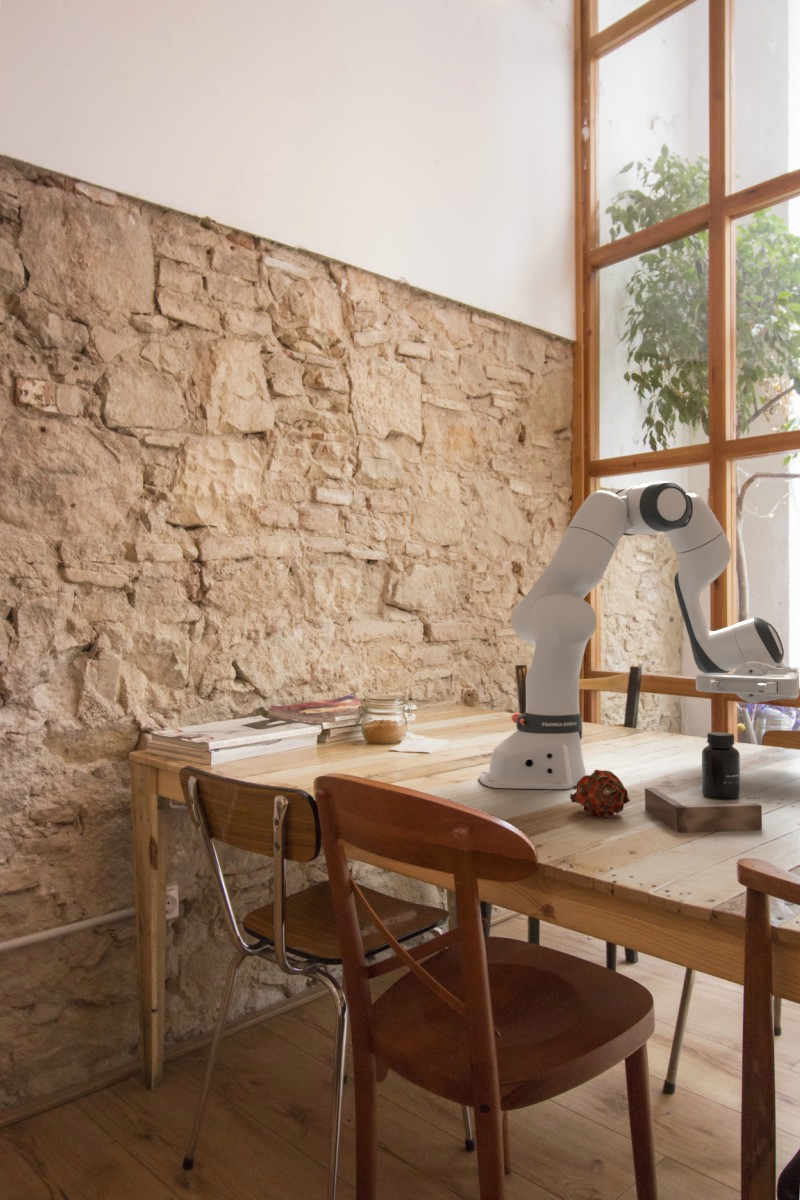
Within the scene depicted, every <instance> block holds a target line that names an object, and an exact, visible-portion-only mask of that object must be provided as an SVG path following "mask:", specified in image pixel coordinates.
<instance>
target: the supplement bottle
mask: <svg viewBox="0 0 800 1200" xmlns="http://www.w3.org/2000/svg"><path fill="white" fill-rule="evenodd" d="M706 737H707V739H706V743H707V744H708V745H707V746H705V747H704V748H703V749H702V751H701V794H702V795H703V797H705V798H709V799H714V800H723V801H725V800H727V801H729V800H730V801H732V800H737V799H738V798H739V797H740V794H741V789H740V788H741V780H740V779H741V767H740V766H741V764H740V763H741V757H740V752H739V751H738V749H737V748H736V747H734V745H735V734H734V733H731V732H725V731H724V732H723V731H712V732H711V731H710V732H707V734H706Z"/></svg>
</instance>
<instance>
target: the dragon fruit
mask: <svg viewBox="0 0 800 1200" xmlns="http://www.w3.org/2000/svg"><path fill="white" fill-rule="evenodd" d="M572 790H573V791H575V790H576V792H574V793H572V792H571V793H570V794H569V799H570V802H571V803H575V804H580V805H581V806H582V807H583V811H584V812H585V813H586V815H588V816H595V815H598V816H600V817H603V818H608V819H609V818H612V817H613V815H614V814H615V813H616V814H618V813H621V812H622V811H623V810H624V805H626V804H627V803H629V802H630V801H631V800H630V798H629V792H628V790H627V788H625V785H624V783H623V782H622V781H621V779H620V778H619V777H618V776H617V775H616V774H614V772H612V771H610V770H600V769H595V770H594V771H593V772H592V773H591V774H590V775H589V774H586V776H583V777H582V778H581V779H580V780H579V781H578V783H577V785H576V786H574V788H572Z"/></svg>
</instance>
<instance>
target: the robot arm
mask: <svg viewBox="0 0 800 1200" xmlns="http://www.w3.org/2000/svg"><path fill="white" fill-rule="evenodd" d="M658 533H663V534H664V535H665V536H666V537H667V538H668V539H669V542H670V544H671V546H672V549H673V550H674V552H675V554H676V556H677V559H678V560H677V561H678V572H676V574H675V575H674V581H673V583H674V590H675V594H676V598H677V601H678V605H679V608H680V612H681V615H682V618H683V622H684V625H685V628H686V632H687V635H688V639H689V643H690V647H691V648H690V649H691V652H692V657H693V661H694V663H695V665H696V667H697V669H698V670H699V671H700V672H702V673H698V674H696V676H695V690H696V691H697V692H702V693H703V692H704V693H717V694H720V693H721V694H736V695H737V697H739V698H740V699H741V700H743V701H745V702H747V703H750V704H758V703H762V702H769V701H773V700H776V701H778V700H779V701H781V700H787V701H788V700H796V699H798V697H799V696H800V675H799V672H798V669H797V668H793V667H788V666H786V665H785V663H783V659H784V655H785V652H784V651H785V650H784V647H783V643H782V640H781V638H780V635H779V634H778V632H777V630H776V629H775V627H774V626H773V625H772V624H771V623H769V622H768V621H766V620H765V619H763V618H760V617H757V616H755V617H752V618H749V619H746V620H743V621H739V622H737V623H735V624H732V625H729V626H727V627H723V628H720V629H716V630H710V629H709V628H708V626H707V622H706V619H705V616H704V612H703V609H702V605H701V601H700V595H701V594H702V592H703V591H705V589H706V588H707V587H708V586H709V585H711V584H712V583H713V582H714V581H715V580H716V579H718V578H719V577H720V576H721V575H722V573H723V572H725V570H726V568H727V567H728V565H729V562H730V560H731V557H732V548H731V545H730V542H729V540H728V537H727V535H726V533H725V531H724V529H723V527H722V525H721V523H720V522H719V520H718V518H717V516H716V515H715V514H714V512H713V511H712V509H711V508H710V506H709V505H708V504H707V503H706V501H705V500H704V499H703V497H702V496H701V495H699V494H698V493H691V492H686V491H685V489H684V488H682V486H680V485H678V484H677V483H675V482H671V481H667V480H666V481H665V480H658V481H653V482H647V483H640V484H636V485H632V486H629V487H628V488H622V489H620V490H618V491H617V492H615V493H614V492H611V491H608V490H596V491H593V492H592V493H590V494H589V495H588V496H587V498H585V500H584V501H583V503H581V505H580V507H579V508H578V510H577V511H576V512H575V514H574V516H573V518H572V519H571V521H570V523H569V525H568V527H567V529H566V530H565V533H564V534H563V537H562V539H561V540H560V543H559V545H558V547H557V549H556V550H555V553H554V554H553V557H552V559H551V560H550V562H549V563H548V565H547V566H546V568H545V569H544V571H543V572H541V575H540V576H539V577H538V579H536V581H535V582H534V584H533V585H532V587H531V588H530V590H529V591H528V592H527V594H526V595H525V596H524V597H523V598H522V599H521V600H520V601H519V602H518V603H517V604H516V605H515V606H514V608H513V610H512V612H511V615H510V617H511V618H510V621H511V627H512V629H513V632H514V633H515V634H516V635H517V636H518V637H519V638H520V639H522V640H523V641H525V642H526V643H529V644H531V645H534V647H535V648H534V652H533V657H532V661H531V665H530V667H529V669H528V671H527V672H526V674H525V675H526V676H525V712H523V713H521V714H519V713H518V712H514V713H512V714H511V717H510V719H511V721H512V722H513V723H515V724H516V729H517V730H516V731H514V732H513V733H512V734H511V735H509V736H508V737H507V738H506V739H504V741H503V740H502V742H500V744H498V745H497V746H495V748H494V749H493V751H492V752H491V757H490V762H489V770H483V771H481V772H480V773H479V777H478V778H479V781H480V782H481V784H482V785H485V786H487V787H488V788H489V787H490V788H494V789H530V790H531V789H533V790H537V789H538V790H541V789H542V790H570V789H572V788H573V787H576V786H577V783H578V781H579V780H580V779H581V778H582V777H583V776H586V775H587V771H586V767H585V762H584V758H583V750H582V742H581V740H582V737H583V719H582V713H581V712H580V675H581V668H582V664H583V659H584V655H585V651H586V649H587V648H586V647H587V644H588V642H589V640H590V639H591V638H592V637H593V635H594V633H595V631H596V628H597V615H596V612H595V609H594V608H593V606H592V605H591V604H590V603H589V602H588V601H587V600H585V598H586V597H587V595H589V594H590V592H591V591H592V590H593V589H595V588H596V587H597V586H598V585H599V584H600V582H601V581H602V578H603V576H604V574H605V572H606V570H607V567H608V566H609V564H610V562H611V560H612V558H613V555H614V553H615V552H616V550H617V547H618V545H619V543H620V540H621V538H623V536H630V537H633V536H636V535H637V536H640V535H641V536H642V535H643V536H649V535H654V534H658ZM731 671H734V672H733V673H730V672H731Z"/></svg>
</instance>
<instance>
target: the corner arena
mask: <svg viewBox="0 0 800 1200" xmlns="http://www.w3.org/2000/svg"><path fill="white" fill-rule="evenodd" d="M644 808H645V809H644V810H645V812H647V813H649V814H650V815H652V816H653V817H654V818H656V819H658V820H659V821H660V822H662V823H664V824H665V826H668V827H669V828H671V829H672V830H673V831H675V832H676V833H701V832H702V833H703V832H704V833H707V832H734V831H735V832H737V831H741V832H742V831H762V830H763V828H762V827H763V819H762V816H763V814H762V812H763V810H762V804H760V803H757V802H755V803H719V804H716V803H714V804H686V805H685V804H682V803H680V802H679V801H677V800H675V799H673V798H672V797H670V796H668V795H666V794H664V793H663V792H661V791H659V790H658V789H656V788H655V787H644Z"/></svg>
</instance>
